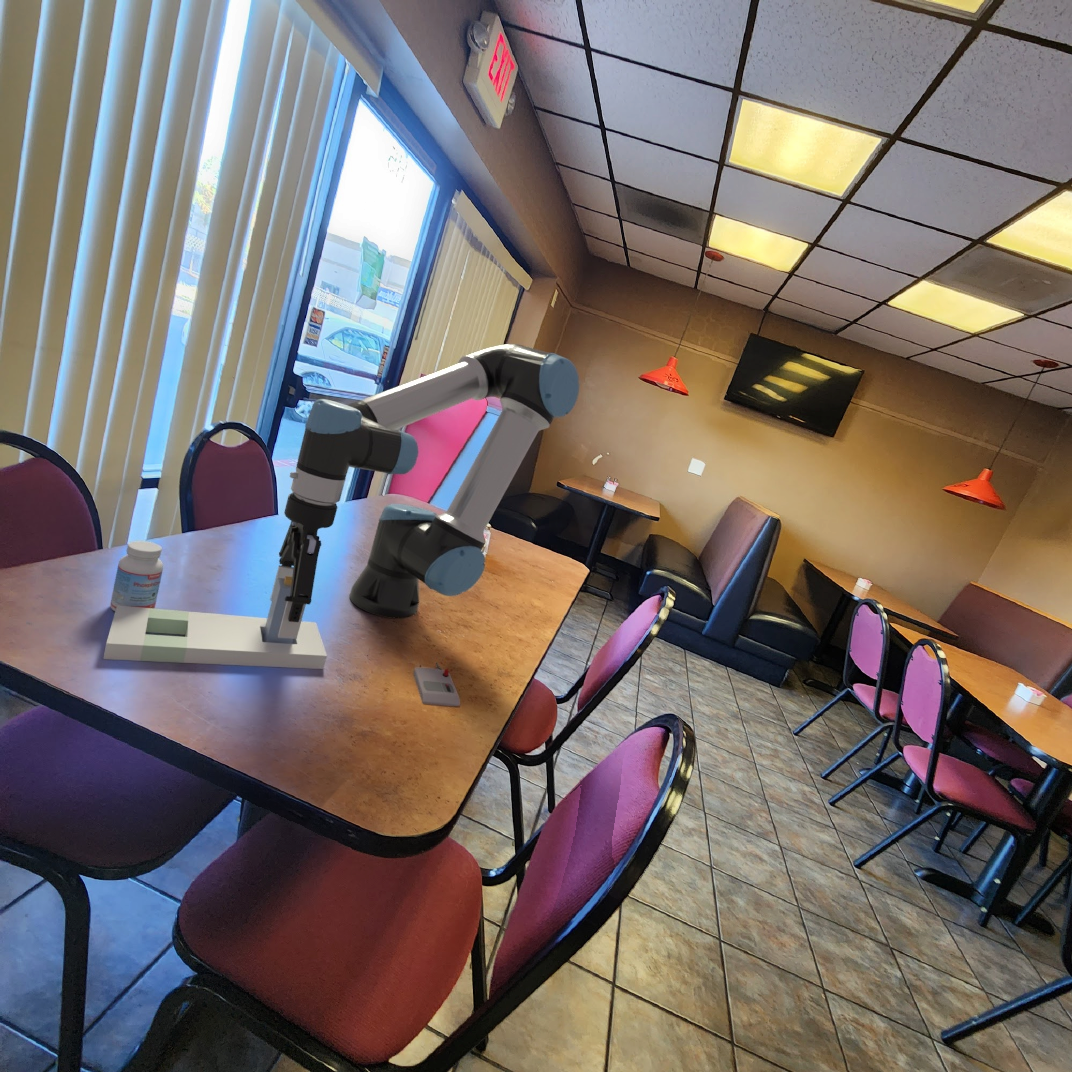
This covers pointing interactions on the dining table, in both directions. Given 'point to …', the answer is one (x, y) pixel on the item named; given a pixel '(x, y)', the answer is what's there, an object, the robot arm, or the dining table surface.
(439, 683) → the remote control
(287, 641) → the plug
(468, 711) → the dining table surface
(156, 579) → the pill bottle
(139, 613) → the panel
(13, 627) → the dining table surface
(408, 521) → the robot arm
